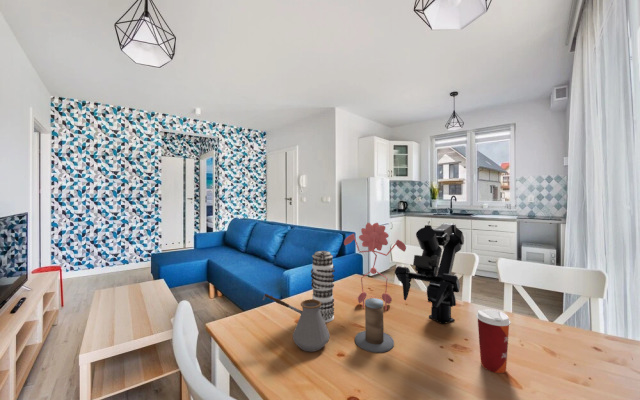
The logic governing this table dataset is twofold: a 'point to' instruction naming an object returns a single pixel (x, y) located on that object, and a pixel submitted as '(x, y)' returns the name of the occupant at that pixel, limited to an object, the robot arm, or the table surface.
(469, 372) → the table surface
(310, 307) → the coffee pot
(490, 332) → the paper cup
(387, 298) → the figurine
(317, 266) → the decorative candle
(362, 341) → the felt mat
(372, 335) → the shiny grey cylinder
